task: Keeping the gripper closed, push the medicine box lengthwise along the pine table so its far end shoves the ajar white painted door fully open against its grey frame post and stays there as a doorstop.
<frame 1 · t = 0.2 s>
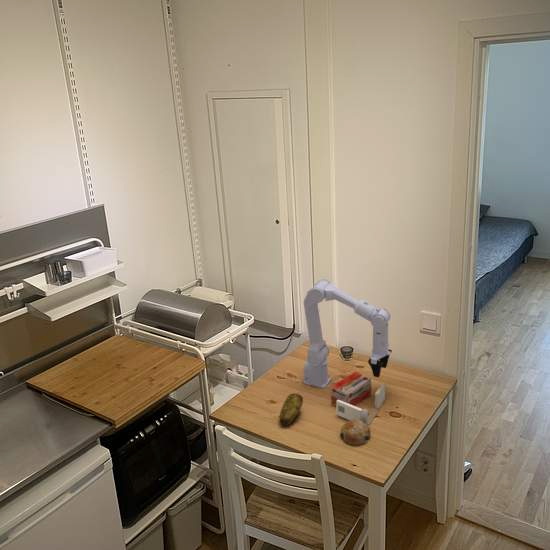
hand: (379, 371, 224), 10 cm above the table, fingers open, 7 cm apart
potato: (290, 417, 217), on the table
door: (349, 411, 212), point 4 cm above the table, hinge at 78.0°
door frame: (373, 413, 216), on the table
bread roll: (354, 437, 204), on the table
medicine box: (351, 400, 226), on the table
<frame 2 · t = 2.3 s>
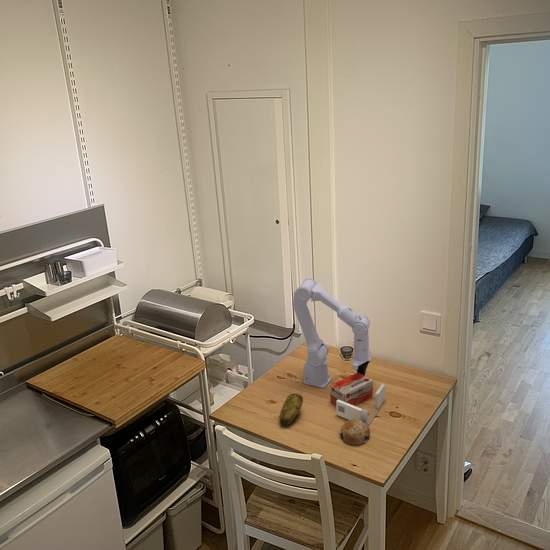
hand: (361, 377, 231), 5 cm above the table, fingers closed
medicine box: (351, 400, 225), on the table, touching gripper
everything else where it was.
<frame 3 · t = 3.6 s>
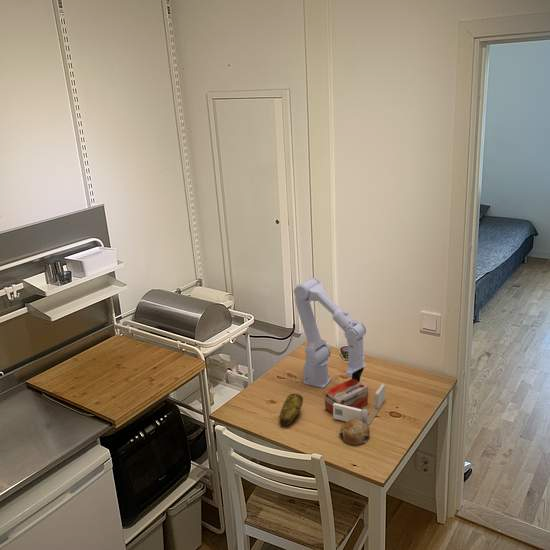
hand: (356, 384, 226), 5 cm above the table, fingers closed, pressing on medicine box
door: (347, 413, 210), point 3 cm above the table, hinge at 90.5°, touching medicine box
medicine box: (346, 406, 221), on the table, touching door, gripper
everything else where it was.
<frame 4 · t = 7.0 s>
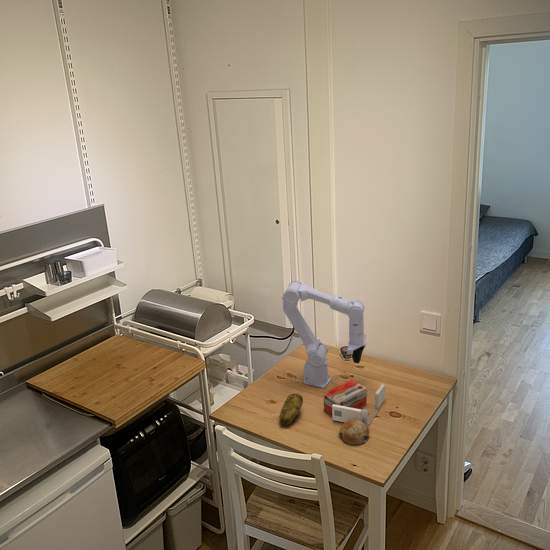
hand: (356, 362, 231), 10 cm above the table, fingers closed
door: (346, 414, 210), point 4 cm above the table, hinge at 95.5°
medicine box: (345, 408, 220), on the table
everything else where it was.
at the end: door at +96° (first picture: +78°); medicine box inside the target area (0.2 cm from its centre), on the table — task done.
